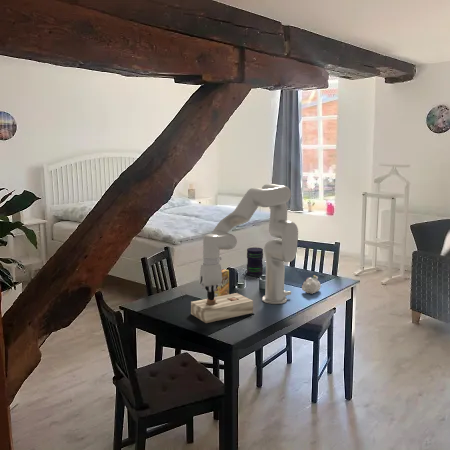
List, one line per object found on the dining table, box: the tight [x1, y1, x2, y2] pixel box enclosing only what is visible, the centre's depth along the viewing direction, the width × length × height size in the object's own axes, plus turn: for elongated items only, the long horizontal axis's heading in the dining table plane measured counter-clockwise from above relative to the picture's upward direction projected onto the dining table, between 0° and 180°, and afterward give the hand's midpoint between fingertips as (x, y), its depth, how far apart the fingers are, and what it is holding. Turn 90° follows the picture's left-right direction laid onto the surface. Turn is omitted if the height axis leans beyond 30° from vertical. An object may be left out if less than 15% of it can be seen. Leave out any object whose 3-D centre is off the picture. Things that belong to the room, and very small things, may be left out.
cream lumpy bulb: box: [301, 274, 322, 295], centre depth 277 cm, size 10×8×15 cm
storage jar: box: [246, 247, 264, 276], centre depth 315 cm, size 10×10×15 cm
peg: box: [206, 298, 216, 306], centre depth 242 cm, size 4×4×6 cm
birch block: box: [190, 292, 254, 324], centre depth 245 cm, size 14×26×6 cm, turn 122°
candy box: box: [214, 268, 230, 297], centre depth 264 cm, size 9×4×15 cm, turn 144°
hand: (210, 299), depth 241 cm, fingers closed
